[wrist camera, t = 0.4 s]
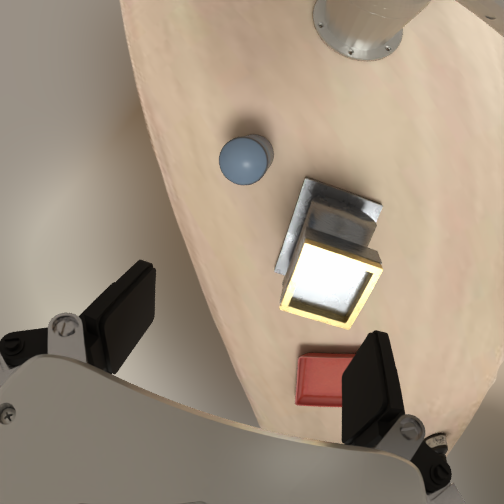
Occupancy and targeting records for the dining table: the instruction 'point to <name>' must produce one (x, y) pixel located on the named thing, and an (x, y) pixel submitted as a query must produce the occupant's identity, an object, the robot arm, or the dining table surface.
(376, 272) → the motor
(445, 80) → the dining table surface
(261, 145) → the blue rounded cylinder
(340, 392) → the plant saucer
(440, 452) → the ink bottle
